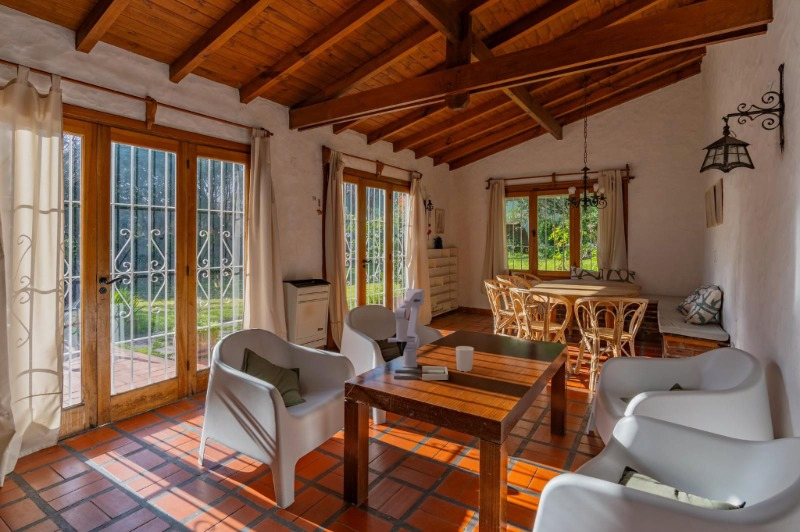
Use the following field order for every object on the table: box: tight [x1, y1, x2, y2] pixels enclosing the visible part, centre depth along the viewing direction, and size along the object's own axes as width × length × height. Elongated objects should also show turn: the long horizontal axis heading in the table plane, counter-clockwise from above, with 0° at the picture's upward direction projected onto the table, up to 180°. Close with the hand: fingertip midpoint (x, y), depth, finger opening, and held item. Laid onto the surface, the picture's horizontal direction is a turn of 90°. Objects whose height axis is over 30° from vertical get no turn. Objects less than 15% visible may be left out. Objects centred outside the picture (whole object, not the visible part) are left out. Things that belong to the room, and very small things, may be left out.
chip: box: [436, 370, 445, 374], centre depth 223 cm, size 4×4×3 cm
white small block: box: [427, 370, 436, 374], centre depth 223 cm, size 4×4×3 cm
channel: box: [393, 369, 421, 380], centre depth 224 cm, size 12×13×1 cm
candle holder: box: [455, 345, 475, 373], centre depth 234 cm, size 10×10×12 cm
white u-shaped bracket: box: [421, 365, 449, 381], centre depth 223 cm, size 14×13×3 cm
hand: (401, 355), depth 227 cm, fingers closed
